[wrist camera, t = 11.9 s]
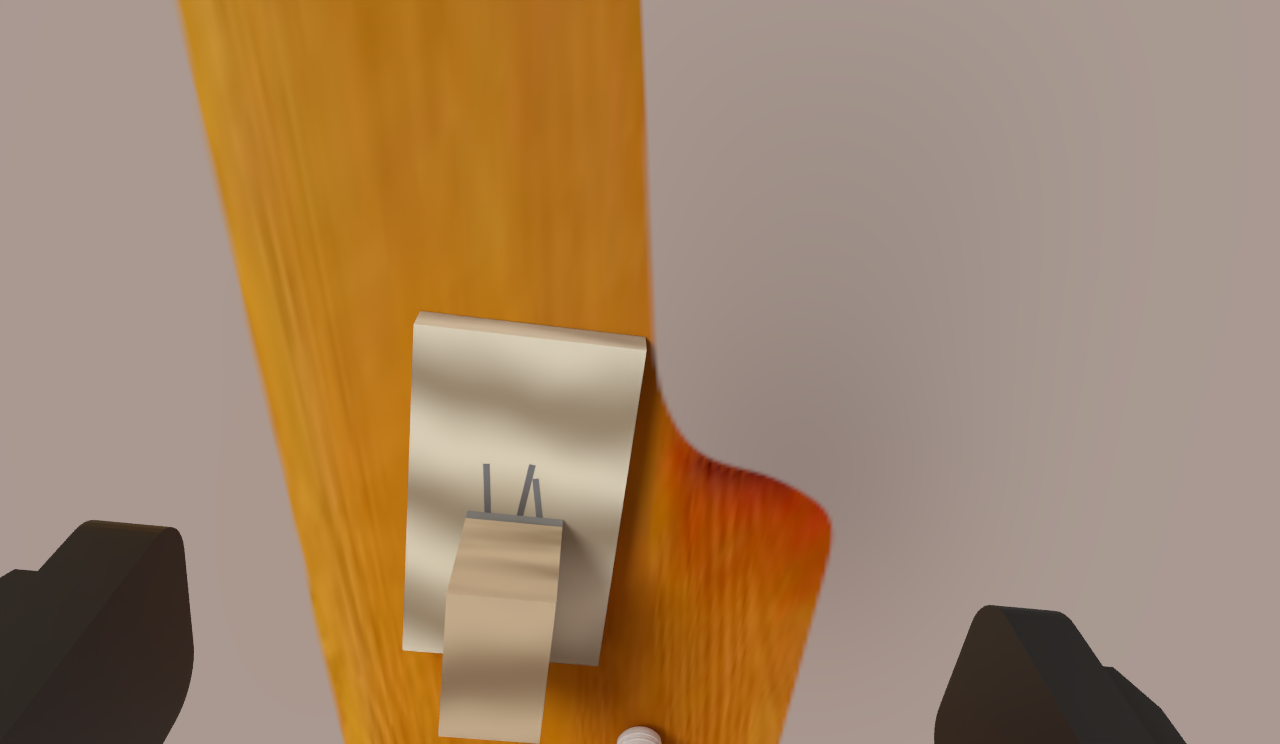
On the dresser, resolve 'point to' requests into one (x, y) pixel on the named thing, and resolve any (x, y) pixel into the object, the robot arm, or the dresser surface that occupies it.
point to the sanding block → (499, 627)
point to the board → (519, 459)
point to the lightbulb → (639, 736)
